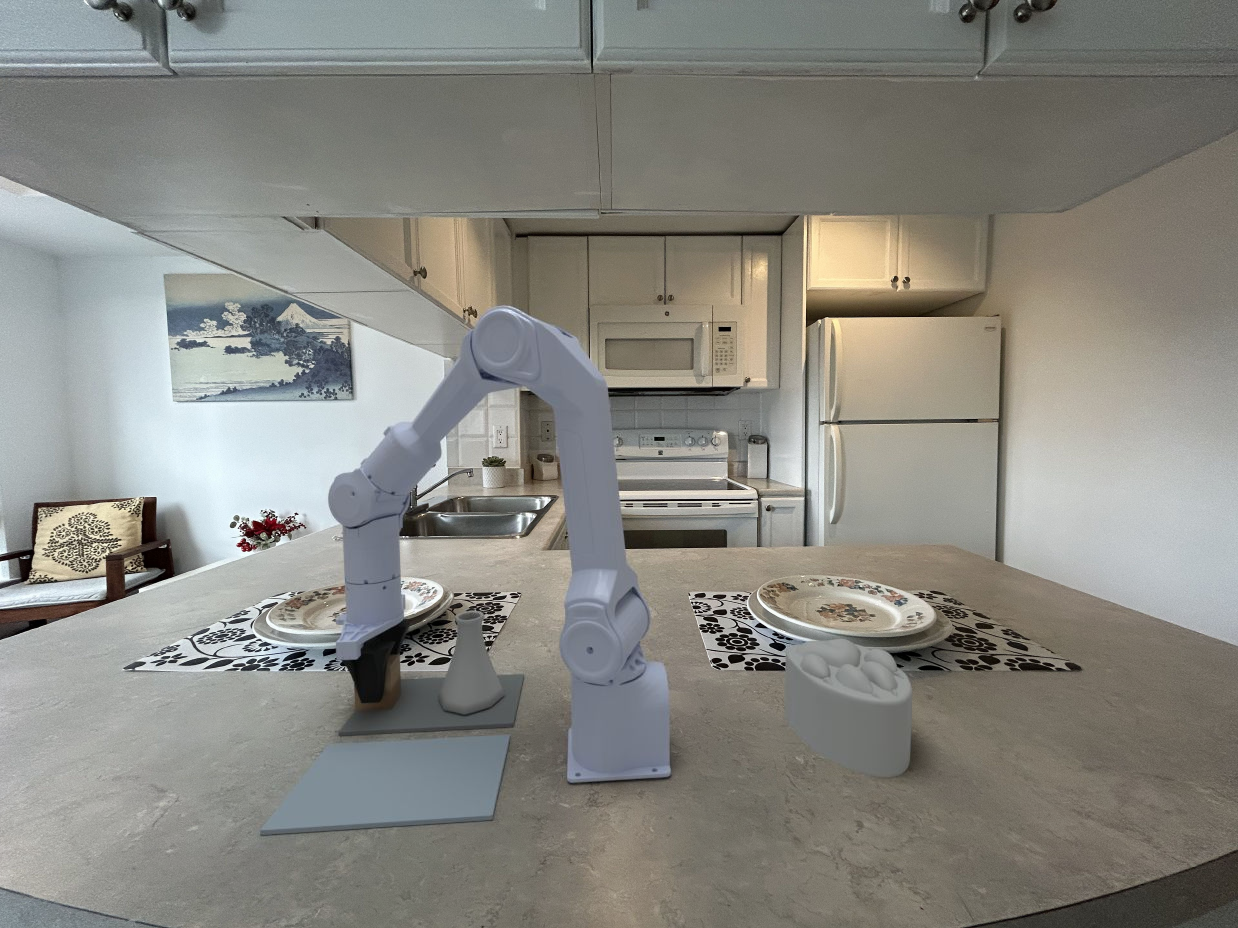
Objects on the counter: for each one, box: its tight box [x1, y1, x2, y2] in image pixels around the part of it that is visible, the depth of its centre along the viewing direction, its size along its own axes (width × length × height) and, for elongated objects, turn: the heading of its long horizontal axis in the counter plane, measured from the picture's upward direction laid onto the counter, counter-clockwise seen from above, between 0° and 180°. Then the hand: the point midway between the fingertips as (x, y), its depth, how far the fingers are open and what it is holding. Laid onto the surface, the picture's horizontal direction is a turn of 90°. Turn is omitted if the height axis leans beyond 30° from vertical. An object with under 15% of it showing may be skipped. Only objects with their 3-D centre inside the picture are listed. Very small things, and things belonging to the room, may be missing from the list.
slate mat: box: [259, 734, 511, 836], centre depth 46 cm, size 18×11×1 cm, turn 95°
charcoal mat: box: [338, 653, 525, 737], centre depth 59 cm, size 18×11×5 cm, turn 95°
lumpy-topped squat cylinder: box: [784, 638, 913, 778], centre depth 52 cm, size 10×13×9 cm
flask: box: [438, 610, 505, 715], centre depth 59 cm, size 7×7×10 cm
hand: (377, 692), depth 58 cm, fingers closed on charcoal mat, 3 cm apart
